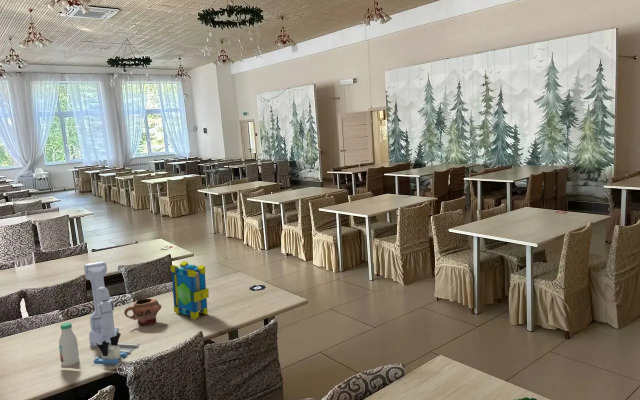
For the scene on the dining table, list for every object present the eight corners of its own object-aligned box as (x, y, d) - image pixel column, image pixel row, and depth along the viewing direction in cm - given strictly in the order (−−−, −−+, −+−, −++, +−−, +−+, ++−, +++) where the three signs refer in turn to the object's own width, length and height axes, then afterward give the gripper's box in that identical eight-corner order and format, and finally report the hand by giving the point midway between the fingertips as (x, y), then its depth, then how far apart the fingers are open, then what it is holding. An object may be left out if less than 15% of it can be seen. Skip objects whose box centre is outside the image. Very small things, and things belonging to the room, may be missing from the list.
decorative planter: (128, 332, 263) (126, 308, 261) (123, 325, 273) (121, 302, 271) (165, 323, 275) (163, 299, 273) (158, 316, 285) (156, 294, 283)
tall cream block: (102, 360, 229) (101, 348, 229) (107, 356, 233) (106, 344, 232) (115, 361, 228) (114, 349, 227) (120, 357, 232) (119, 345, 231)
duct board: (90, 367, 225) (89, 361, 225) (119, 344, 249) (119, 339, 248) (113, 368, 223) (113, 363, 223) (141, 345, 247) (140, 340, 246)
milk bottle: (82, 359, 233) (78, 320, 230) (74, 367, 226) (70, 327, 223) (66, 360, 233) (61, 321, 230) (58, 368, 225) (53, 327, 222)
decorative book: (193, 321, 276) (189, 271, 271) (169, 313, 290) (165, 265, 285) (212, 313, 287) (209, 265, 282) (188, 305, 301) (185, 259, 296)
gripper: (105, 332, 221) (108, 359, 223) (123, 319, 235) (126, 345, 237) (92, 331, 222) (94, 358, 224) (110, 318, 236) (113, 345, 238)
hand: (110, 352), depth 230 cm, fingers open, 7 cm apart
